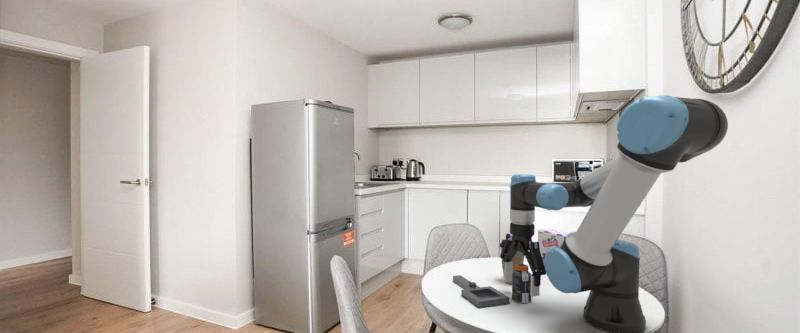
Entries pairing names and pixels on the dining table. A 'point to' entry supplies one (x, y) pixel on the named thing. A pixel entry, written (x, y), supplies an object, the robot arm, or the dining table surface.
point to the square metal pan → (480, 293)
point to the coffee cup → (516, 259)
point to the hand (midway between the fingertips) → (520, 288)
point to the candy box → (549, 240)
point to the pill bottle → (521, 284)
